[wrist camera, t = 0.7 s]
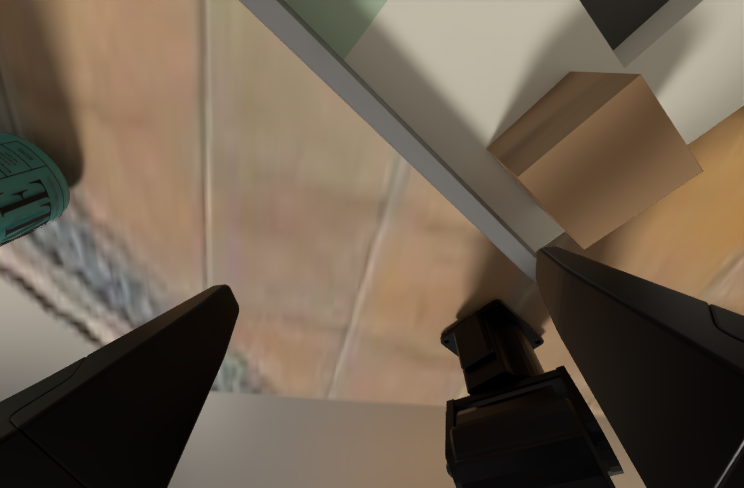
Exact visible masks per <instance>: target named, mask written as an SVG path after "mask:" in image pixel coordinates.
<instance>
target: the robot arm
mask: <svg viewBox="0 0 744 488" xmlns="http://www.w3.org/2000/svg"><path fill="white" fill-rule="evenodd" d="M535 276H536V282H537V285H538V287H539V289H540V292H541V294H542V297H543V299H544V301H545V304H546V306H547V308H548V311H549V313H550V316H551V318H552V320H553V323H554V325H555V327H556V329H557V331H558V333H559V335H560V337H561V339H562V341H563V342H564V344H565V346H566V348H567V349H568V351H569V353H570V355H571V356H572V358H573V360H574V362H575V363H576V365H577V367H578V369H579V370H580V372H581V374H582V376H583V377H584V379H585V381H586V383H587V384H588V386H589V388H590V390H591V391H592V393H593V395H594V397H595V398H596V400H597V402H598V404H599V405H600V407H601V409H602V411H603V412H604V414H605V416H606V418H607V419H608V421H609V423H610V425H611V426H612V428H613V430H614V431H615V433H616V435H617V437H618V439H619V440H620V442H621V444H622V446H623V447H624V449H625V451H626V453H627V454H628V456H629V458H630V460H631V461H632V463H633V465H634V466H635V468H636V470H637V472H638V473H639V475H640V477H641V479H642V480H643V482H644V484H645V486H646V488H744V316H743V315H740V314H737V313H734V312H732V311H729V310H726V309H724V308H721V307H718V306H716V305H713V304H710V305H708V303H707V302H705V301H702V300H699V299H696V298H694V297H691V296H688V295H686V294H683V293H680V292H677V291H675V290H672V289H669V288H667V287H664V286H661V285H658V284H656V283H653V282H650V281H648V280H645V279H642V278H639V277H637V276H634V275H631V274H629V273H626V272H623V271H620V270H618V269H615V268H612V267H610V266H607V265H604V264H601V263H599V262H596V261H593V260H591V259H588V258H585V257H583V256H580V255H577V254H574V253H572V252H569V251H566V250H564V249H561V248H558V247H545V248H540V249H539V250H538V252H537V259H536V272H535ZM497 305H499V306H498V307H496V306H497ZM238 314H239V305H238V303H237V301H236V299H235V297H234V295H233V293H232V290H231V288H230V287H229V286H228V285H215V286H212V287H210V288H209V289H207V290H205V291H203V292H201V293H200V294H198V295H196V296H194V297H192V298H191V299H189V300H187V301H185V302H183V303H181V304H180V305H178V306H176V307H174V308H172V309H171V310H169V311H167V312H165V313H163V314H162V315H160V316H158V317H156V318H154V319H153V320H151V321H149V322H147V323H145V324H143V325H142V326H140V327H138V328H136V329H134V330H133V331H131V332H129V333H127V334H125V335H124V336H122V337H120V338H118V339H116V340H115V341H113V342H111V343H109V344H107V345H105V346H104V347H102V348H100V349H98V350H96V351H95V352H93V353H91V354H89V355H88V356H87V357H84V358H82V359H80V360H78V361H76V362H75V363H73V364H71V365H69V366H68V367H65V368H64V369H62V370H60V371H58V372H56V373H54V374H53V375H51V376H49V377H47V378H45V379H43V380H42V381H40V382H38V383H36V384H34V385H32V386H30V387H28V388H26V389H24V390H22V391H21V392H19V393H17V394H15V395H13V396H11V397H9V398H7V399H5V400H3V401H1V402H0V488H167V487H168V485H169V483H170V480H171V478H172V476H173V474H174V471H175V469H176V467H177V464H178V462H179V460H180V458H181V455H182V453H183V451H184V449H185V446H186V444H187V442H188V439H189V437H190V434H191V432H192V430H193V428H194V426H195V423H196V421H197V419H198V416H199V414H200V412H201V410H202V407H203V405H204V403H205V400H206V398H207V396H208V394H209V391H210V389H211V387H212V385H213V382H214V380H215V378H216V376H217V373H218V371H219V369H220V366H221V364H222V362H223V359H224V357H225V354H226V351H227V348H228V345H229V342H230V339H231V336H232V333H233V330H234V326H235V323H236V320H237V317H238ZM440 339H441V344H442V345H444V346H445V347H446V348H448V349H449V350H450V351H452V352H453V353H454V354H456V355H457V356H458V357H459V360H460V364H461V368H462V369H463V374H464V378H465V382H466V387H467V391H468V393H469V394H470V396H467V397H463V398H460V399H457V400H454V399H452V400H449V401H447V410H446V441H445V442H446V443H445V456H446V460H447V464H446V468H447V472H448V474H449V475H450V476H451V477H452V478H453V480H454V483H455V485H456V488H615V486H614V484H613V482H612V480H611V478H610V476H613V475H618V474H623V473H624V472H623V469H622V467H621V465H620V463H619V461H618V459H617V457H616V456H615V454H614V452H613V450H612V448H611V446H610V444H609V442H608V440H607V439H606V437H605V435H604V433H603V431H602V429H601V427H600V426H599V424H598V422H597V420H596V419H595V417H594V415H593V413H592V412H591V410H590V408H589V407H588V405H587V403H586V402H585V400H584V398H583V397H582V395H581V393H580V392H579V390H578V388H577V387H576V385H575V383H574V382H573V380H572V378H571V377H570V375H569V373H568V372H567V370H566V368H565V367H564V366H560V367H557V368H556V370H552V371H549V372H546V373H545V372H544V370H543V368H542V366H541V364H540V362H539V360H538V358H537V356H536V354H535V352H534V350H533V349H535V348H537V347H538V346H540V345H542V344H543V342H544V340H543V339H542V337H541V335H539V334H538V333H537V332H536V331H535V330H534V329H533V328H531V327H530V326H529V325H528V324H527V323H526V322H525V321H523V320H522V319H521V318H520V317H519V316H518V315H517V314H516V313H514V312H513V311H512V310H511V309H510V308H509V307H508V306H506V305H505V304H504V303H503V302H502V301H500V300H494V301H492V302H491V303H489V304H488V305H487V306H485V307H484V308H482V309H481V310H479V311H478V312H476V313H475V314H473V315H472V316H470V317H469V318H467V319H466V320H464V321H463V322H461V323H460V324H458V325H457V326H455V327H454V328H452V329H451V330H449V331H448V332H447V333H445V334H444V335H442V336H441V338H440ZM536 340H537V341H536Z"/></svg>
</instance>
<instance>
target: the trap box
mask: <svg viewBox="0 0 744 488" xmlns="http://www.w3.org/2000/svg"><path fill="white" fill-rule="evenodd" d="M239 1H240V2H241V3H242V4H243V5H244V6H245V7H246V8H247V9H249V10H250V11H251V12H252V13H253V14H254V15H255V16H256V17H257V18H258V19H259V20H260V21H261V22H262V23H263V24H264V25H265V26H266V27H267V28H268V29H269V30H270V31H272V32H273V33H274V34H275V35H276V36H277V37H278V38H279V39H280V40H281V41H282V42H283V43H284V44H285V45H286V46H287V47H288V48H289V49H290V50H291V51H292V52H293V53H295V54H296V55H297V56H298V57H299V58H300V59H301V60H302V61H303V62H304V63H305V64H306V65H307V66H308V67H309V68H310V69H311V70H312V71H313V72H314V73H315V74H317V75H318V76H319V77H320V78H321V79H322V80H323V81H324V82H325V83H326V84H327V85H328V86H329V87H330V88H331V89H332V90H333V91H334V92H335V93H336V94H337V95H338V96H340V97H341V98H342V99H343V100H344V101H345V102H346V103H347V104H348V105H349V106H350V107H351V108H352V109H353V110H354V111H355V112H356V113H357V114H358V115H359V116H360V117H362V118H363V119H364V120H365V121H366V122H367V123H368V124H369V125H370V126H371V127H372V128H373V129H374V130H375V131H376V132H377V133H378V134H379V135H380V136H381V137H382V138H383V139H385V140H386V141H387V142H388V143H389V144H390V145H391V146H392V147H393V148H394V149H395V150H396V151H397V152H398V153H399V154H400V155H401V156H402V157H403V158H404V159H405V160H407V161H408V162H409V163H410V164H411V165H412V166H413V167H414V168H415V169H416V170H417V171H418V172H419V173H420V174H421V175H422V176H423V177H424V178H425V179H426V180H427V181H428V182H430V183H431V184H432V185H433V186H434V187H435V188H436V189H437V190H438V191H439V192H440V193H441V194H442V195H443V196H444V197H445V198H446V199H447V200H448V201H449V202H450V203H451V204H453V205H454V206H455V207H456V208H457V209H458V210H459V211H460V212H461V213H462V214H463V215H464V216H465V217H466V218H467V219H468V220H469V221H470V222H471V223H472V224H473V225H475V226H476V227H477V228H478V229H479V230H480V231H481V232H482V233H483V234H484V235H485V236H486V237H487V238H488V239H489V240H490V241H491V242H492V243H493V244H494V245H495V246H496V247H498V248H499V249H500V250H501V251H502V252H503V253H504V254H505V255H506V256H507V257H508V258H509V259H510V260H511V261H512V262H513V263H514V264H515V265H516V266H517V267H518V268H520V269H521V270H522V271H523V272H524V273H525V274H526V275H527V276H528V277H529V278H530V279H531V280H532V281H533V282H534V283H535V284H536V285H537V282H536V276H535V272H536V259H537V254H536V253H535V252H537V251H538V250H539V249H540V248H542V247H544V246H545V245H547V244H548V243H549V242H551V241H552V240H554V239H555V238H556V237H558V236H559V235H561V234H562V233H564V232H565V231H564V230H563V229H562V228H561V227H560V226H559V225H558V224H557V223H556V222H555V221H554V220H553V219H552V218H551V217H550V216H549V215H548V214H547V213H546V212H545V211H543V210H542V209H541V208H540V207H539V206H538V204H537V203H536V202H535V201H534V200H533V199H532V198H531V197H530V196H529V195H528V194H527V193H526V191H525V190H524V189H523V188H522V187H521V186H520V185H519V184H518V183H517V182H516V181H515V180H514V178H513V177H512V176H511V175H510V174H509V173H508V172H507V171H506V170H505V169H504V168H503V166H502V165H501V164H500V163H499V162H498V161H497V160H496V159H495V158H494V157H493V156H492V155H491V153H490V152H489V151H488V150H487V148H488V147H489V146H490V145H491V144H492V143H493V142H494V141H495V140H496V139H497V138H498V137H500V136H501V135H502V134H503V133H504V132H505V131H506V130H507V129H508V128H509V127H510V126H511V125H513V124H514V123H515V122H516V121H517V120H518V119H519V118H520V117H521V116H522V115H523V114H524V113H526V112H527V111H528V110H529V109H530V108H531V107H532V106H533V105H534V104H535V103H536V102H538V101H539V100H540V99H541V98H542V97H543V96H544V95H545V94H546V93H547V92H548V91H549V90H551V89H552V88H553V87H554V86H555V85H556V84H557V83H558V82H559V81H560V80H561V79H562V78H564V77H565V76H566V75H567V74H568V73H569V72H570V71H574V72H600V73H626V74H641V75H642V76H643V78H644V80H645V81H646V83H647V84H648V86H649V87H650V89H651V90H652V92H653V93H654V95H655V97H656V98H657V100H658V101H659V103H660V104H661V106H662V107H663V109H664V111H665V112H666V114H667V115H668V117H669V118H670V120H671V121H672V123H673V124H674V126H675V128H676V129H677V131H678V132H679V134H680V135H681V137H682V138H683V140H684V141H685V143H686V145H688V144H690V143H691V142H693V141H694V140H696V139H697V138H698V137H700V136H701V135H703V134H704V133H706V132H707V131H708V130H710V129H711V128H713V127H714V126H715V125H717V124H718V123H720V122H721V121H723V120H724V119H725V118H727V117H728V116H730V115H731V114H733V113H734V112H735V111H737V110H738V109H740V108H741V107H742V106H744V0H239Z"/></svg>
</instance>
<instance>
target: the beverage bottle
mask: <svg viewBox="0 0 744 488" xmlns="http://www.w3.org/2000/svg"><path fill="white" fill-rule="evenodd" d="M69 200H70V192H69V187H68V184H67V182H66V179H65V177H64V176H63V174H62V172H61V171H60V169H59V168H58V166H57V165H56V164H55V163H54V162H53V161H52V160H51V158H50V157H49V156H47V155H46V154H45V153H44V152H43V151H42V150H40V149H39V148H38V147H36V146H35V145H33V144H32V143H30V142H28V141H27V140H25V139H23V138H20V137H18V136H15V135H12V134H8V133H2V132H0V246H2V245H5V244H7V243H9V242H11V241H12V240H13V241H14V239H15V240H16V239H18V238H20V237H21V236H25V235H27V234H29V233H31V232H33V230H34V229H37V228H38V227H40V226H42V225H43V224H46V223H47V222H48V221H51V220H52V221H54V219H55V218H57V217H58V216H59V215H60V216H61V214H62V212H64V210H65V209H66V208H67V206H68V204H69ZM60 216H59V217H60ZM52 221H51V222H52ZM55 221H56V220H55ZM51 222H50V223H51ZM41 228H42V227H41ZM39 229H40V228H39ZM37 230H38V229H37ZM30 231H31V232H30ZM34 231H35V230H34ZM28 232H29V233H28ZM20 234H21V235H20ZM18 235H19V236H18ZM16 236H17V237H16ZM14 237H15V238H14ZM12 238H13V239H12ZM10 239H11V240H10ZM7 240H8V241H7ZM1 244H2V245H1Z"/></svg>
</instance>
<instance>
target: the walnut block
mask: <svg viewBox="0 0 744 488" xmlns="http://www.w3.org/2000/svg"><path fill="white" fill-rule="evenodd" d="M487 150H488V151H489V152H490V153H491V155H492V156H493V157H494V158H495V159H496V160H497V161H498V162H499V163H500V164H501V165H502V166H503V168H504V169H505V170H506V171H507V172H508V173H509V174H510V175H511V176H512V177H513V178H514V180H515V181H516V182H517V183H518V184H519V185H520V186H521V187H522V188H523V189H524V190H525V191H526V193H527V194H528V195H529V196H530V197H531V198H532V199H533V200H534V201H535V202H536V203H537V204H538V206H539V207H540V208H541V209H542V210H543V211H545V212H546V213H547V214H548V215H549V216H550V217H551V218H552V219H553V220H554V221H555V222H556V223H557V224H558V225H559V226H560V227H561V228H562V229H563V230H564V231H565V232H566V233H567V234H568V235H569V236H570V237H571V238H572V239H573V240H574V241H575V242H577V243H578V244H579V245H580V246H581V247H582V248H583V249H584V250H585V249H586V248H588V247H589V246H591V245H592V244H594V243H595V242H597V241H598V240H600V239H601V238H603V237H604V236H606V235H607V234H609V233H610V232H612V231H613V230H615V229H616V228H618V227H619V226H621V225H622V224H624V223H625V222H627V221H628V220H630V219H632V218H633V217H635V216H636V215H638V214H639V213H641V212H642V211H644V210H645V209H647V208H648V207H650V206H651V205H653V204H654V203H656V202H657V201H659V200H660V199H662V198H663V197H665V196H666V195H668V194H669V193H671V192H672V191H674V190H675V189H677V188H678V187H680V186H681V185H683V184H684V183H686V182H687V181H689V180H691V179H692V178H694V177H695V176H697V175H698V174H700V173H701V172H703V169H702V168H701V166H700V165H699V163H698V162H697V160H696V158H695V157H694V155H693V154H692V152H691V151H690V149H689V148H688V146H687V145H686V143H685V141H684V140H683V138H682V137H681V135H680V134H679V132H678V131H677V129H676V128H675V126H674V124H673V123H672V121H671V120H670V118H669V117H668V115H667V114H666V112H665V111H664V109H663V107H662V106H661V104H660V103H659V101H658V100H657V98H656V97H655V95H654V93H653V92H652V90H651V89H650V87H649V86H648V84H647V83H646V81H645V80H644V78H643V76H642V75H641V74H626V73H600V72H574V71H570V72H569V73H568V74H567V75H566V76H565V77H564V78H562V79H561V80H560V81H559V82H558V83H557V84H556V85H555V86H554V87H553V88H552V89H551V90H549V91H548V92H547V93H546V94H545V95H544V96H543V97H542V98H541V99H540V100H539V101H538V102H536V103H535V104H534V105H533V106H532V107H531V108H530V109H529V110H528V111H527V112H526V113H524V114H523V115H522V116H521V117H520V118H519V119H518V120H517V121H516V122H515V123H514V124H513V125H511V126H510V127H509V128H508V129H507V130H506V131H505V132H504V133H503V134H502V135H501V136H500V137H498V138H497V139H496V140H495V141H494V142H493V143H492V144H491V145H490V146H489V147H488V148H487Z"/></svg>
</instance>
